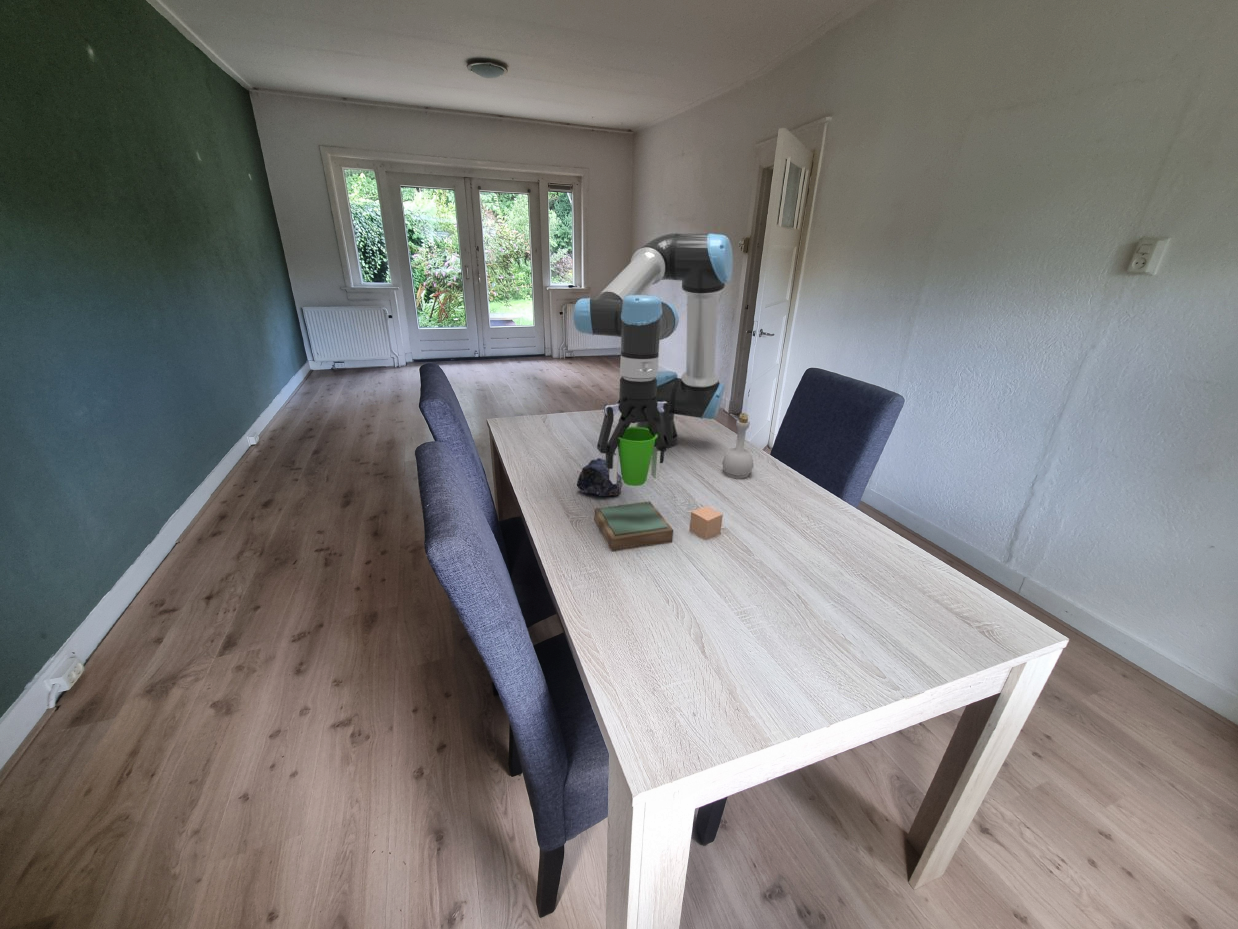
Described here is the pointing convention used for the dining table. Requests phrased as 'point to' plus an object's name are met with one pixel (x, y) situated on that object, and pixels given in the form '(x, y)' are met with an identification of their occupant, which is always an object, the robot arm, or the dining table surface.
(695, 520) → the terracotta block
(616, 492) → the rock
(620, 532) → the tray
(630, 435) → the cup
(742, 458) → the potion bottle
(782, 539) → the dining table surface
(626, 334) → the robot arm
